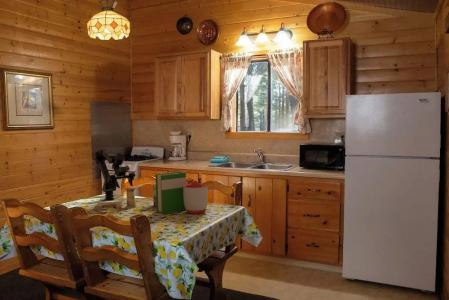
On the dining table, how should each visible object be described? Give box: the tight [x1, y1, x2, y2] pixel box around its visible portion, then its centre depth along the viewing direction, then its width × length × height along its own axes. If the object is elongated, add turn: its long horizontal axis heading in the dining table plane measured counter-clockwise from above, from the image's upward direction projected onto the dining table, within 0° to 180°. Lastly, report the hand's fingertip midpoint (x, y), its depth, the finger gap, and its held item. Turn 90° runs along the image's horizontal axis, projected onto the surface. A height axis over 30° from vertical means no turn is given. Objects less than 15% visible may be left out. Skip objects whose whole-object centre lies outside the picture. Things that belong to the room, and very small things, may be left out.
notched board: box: [95, 200, 123, 212], centre depth 259 cm, size 16×16×2 cm
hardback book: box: [155, 171, 187, 215], centre depth 244 cm, size 18×7×24 cm, turn 128°
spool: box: [124, 186, 137, 209], centre depth 257 cm, size 6×6×13 cm
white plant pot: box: [183, 180, 210, 215], centre depth 241 cm, size 16×17×20 cm
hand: (125, 187), depth 261 cm, fingers open, 9 cm apart
